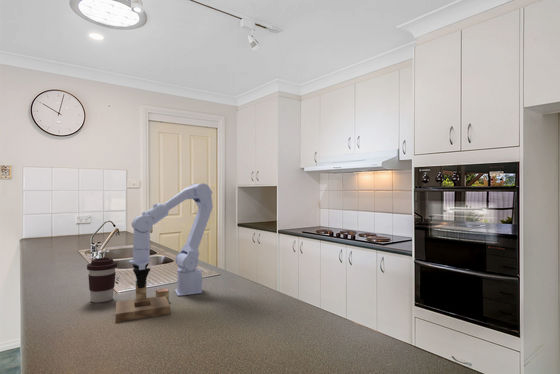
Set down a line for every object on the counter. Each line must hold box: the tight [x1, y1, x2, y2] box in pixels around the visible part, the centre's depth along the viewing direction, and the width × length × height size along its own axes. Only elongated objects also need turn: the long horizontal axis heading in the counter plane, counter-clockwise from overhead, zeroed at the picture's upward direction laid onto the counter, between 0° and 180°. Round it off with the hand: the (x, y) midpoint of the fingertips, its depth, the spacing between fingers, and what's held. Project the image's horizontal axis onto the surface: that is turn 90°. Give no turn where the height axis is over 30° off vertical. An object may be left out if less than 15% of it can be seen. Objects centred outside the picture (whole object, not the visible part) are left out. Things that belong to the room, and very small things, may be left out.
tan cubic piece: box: [155, 287, 170, 303], centre depth 120 cm, size 4×4×4 cm
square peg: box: [135, 280, 147, 299], centre depth 120 cm, size 4×4×7 cm
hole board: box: [115, 296, 171, 323], centre depth 109 cm, size 16×12×2 cm
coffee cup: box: [86, 257, 118, 304], centre depth 121 cm, size 10×10×15 cm
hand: (140, 285), depth 120 cm, fingers open, 7 cm apart
